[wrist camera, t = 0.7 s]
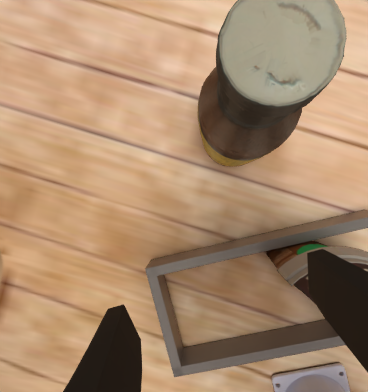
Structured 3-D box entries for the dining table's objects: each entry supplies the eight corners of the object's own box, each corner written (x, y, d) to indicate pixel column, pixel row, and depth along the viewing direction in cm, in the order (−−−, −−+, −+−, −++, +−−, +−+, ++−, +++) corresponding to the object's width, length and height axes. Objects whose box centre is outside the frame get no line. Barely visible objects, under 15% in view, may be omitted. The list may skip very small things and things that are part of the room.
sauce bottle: (244, 100, 27) (352, -118, 7) (268, 152, 27) (441, 76, 7) (190, 127, 28) (158, -6, 8) (215, 178, 28) (243, 171, 8)
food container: (380, 279, 27) (482, 337, 17) (339, 319, 28) (415, 396, 18) (294, 204, 27) (346, 217, 17) (256, 245, 28) (285, 280, 18)
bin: (389, 315, 27) (411, 332, 24) (177, 357, 29) (174, 377, 26) (364, 209, 27) (384, 213, 24) (151, 259, 29) (145, 268, 26)
